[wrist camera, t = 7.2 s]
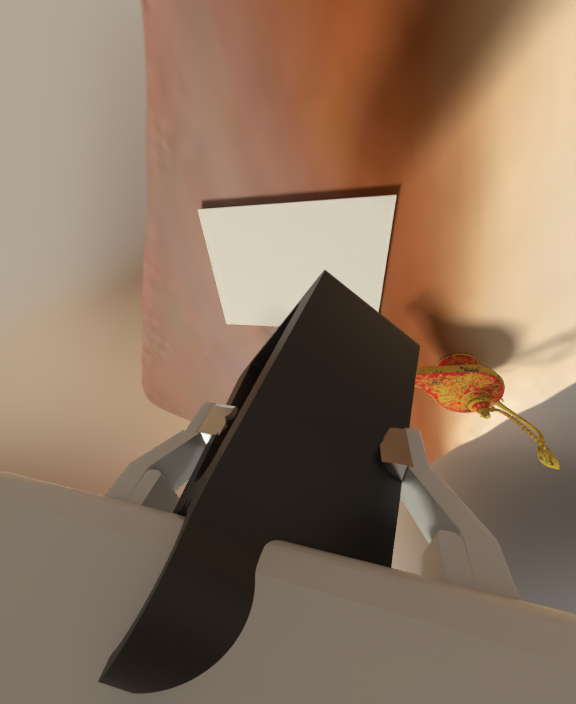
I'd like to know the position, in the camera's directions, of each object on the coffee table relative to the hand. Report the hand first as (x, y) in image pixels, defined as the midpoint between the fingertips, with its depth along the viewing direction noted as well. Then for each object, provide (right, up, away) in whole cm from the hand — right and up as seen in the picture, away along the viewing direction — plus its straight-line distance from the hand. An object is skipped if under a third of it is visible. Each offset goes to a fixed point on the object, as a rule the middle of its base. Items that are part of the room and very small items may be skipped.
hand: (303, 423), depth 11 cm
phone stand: (+1, +3, +4) cm, 5 cm away
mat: (0, +12, +18) cm, 22 cm away
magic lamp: (+19, +2, +21) cm, 28 cm away
